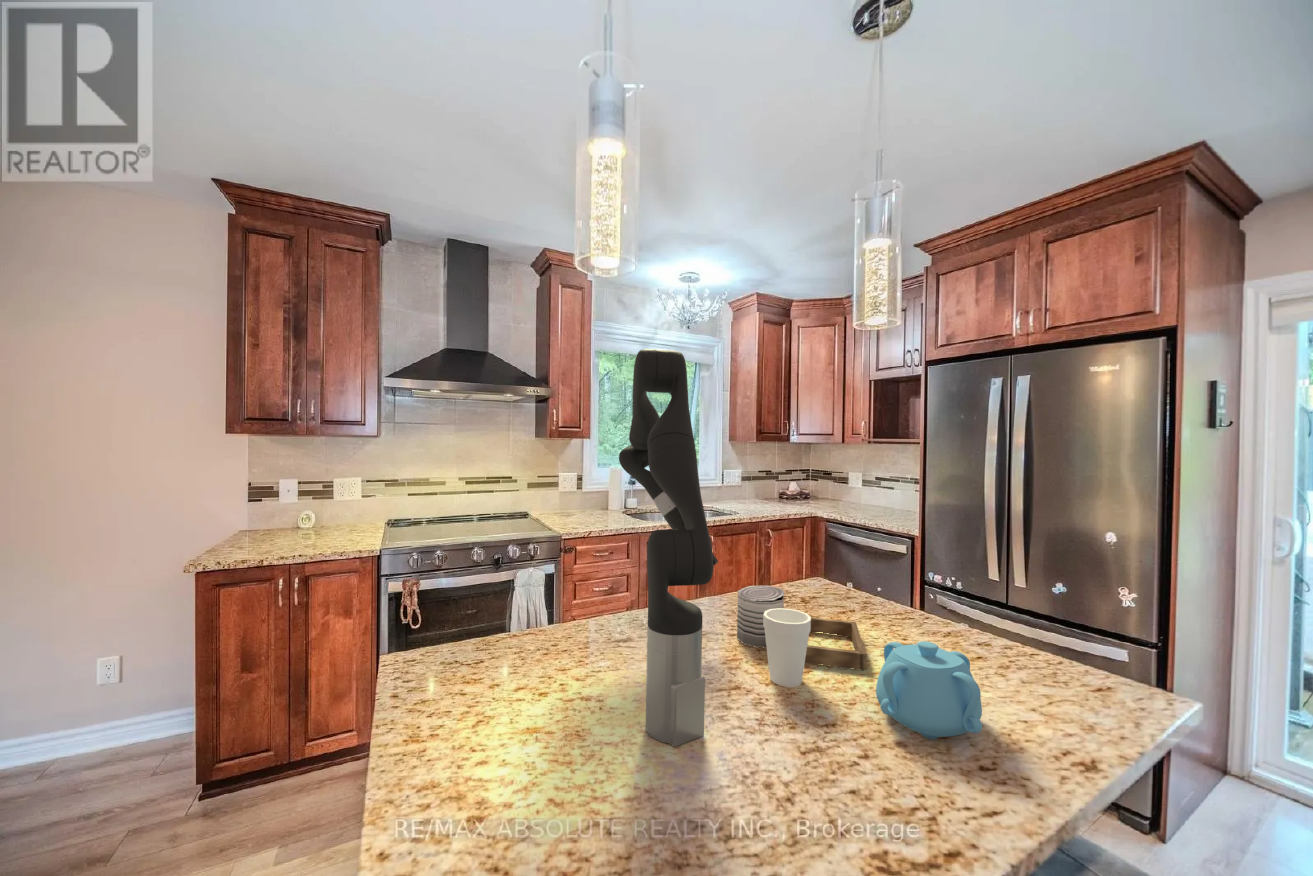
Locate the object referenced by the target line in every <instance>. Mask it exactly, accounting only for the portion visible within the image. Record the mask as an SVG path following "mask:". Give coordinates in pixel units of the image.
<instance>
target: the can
mask: <svg viewBox="0 0 1313 876" xmlns="http://www.w3.org/2000/svg"><path fill="white" fill-rule="evenodd" d="M785 596H786V594H785V592H784V590H783V588H779V587H775V586H772V585H748V586H746V587H743V588H740V589H738V590H737V613H736V614H737V616H736V617H737V619H736V620H737V621H736V624H737V626H736V627H737V628H736V632H737V633H736V639H737V640H738V639H739V640H740V641H742V642H743V644H742V645H744V644H746V645H745V646H748V645H750V646H749V647H751V646H755V647H764V648H763V649H767V646H766V637H765V628H764V626H763V614H764V612H765V611H767V610H769V609H776V608H784V605H785V603H784V600H785V599H784V597H785ZM784 609H785V608H784ZM739 640H738V641H739ZM740 641H739V642H740ZM755 647H754V648H755Z"/></svg>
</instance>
